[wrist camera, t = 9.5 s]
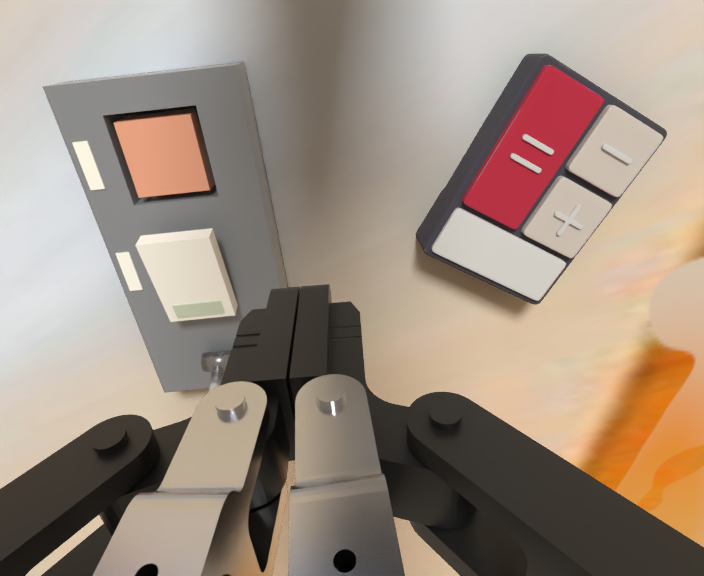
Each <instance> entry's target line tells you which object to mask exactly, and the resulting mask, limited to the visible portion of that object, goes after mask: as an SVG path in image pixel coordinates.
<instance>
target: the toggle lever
mask: <svg viewBox="0 0 704 576" xmlns="http://www.w3.org/2000/svg"><path fill="white" fill-rule="evenodd" d="M230 353H231V350H226V351H216V352H206V353H203V354H202V357H201V365H202V369H203V371H204V372H212V373H211V380H210V386H209V392H210V391H212V390H213V389H215V388H217V387H219V386H220V384H221V381H222V378H223V371H224V370H225V368H226V365H227V362H228V359H229V356H230Z"/></svg>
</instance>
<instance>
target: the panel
mask: <svg viewBox="0 0 704 576" xmlns="http://www.w3.org/2000/svg"><path fill="white" fill-rule="evenodd" d="M43 89H44V91H45V94H46V96H47V99H48V101H49V104H50V106H51V109H52V111H53V114H54V116H55V119H56V121H57V124H58V126H59V129H60V131H61V134H62V136H63V139H64V141H65V144H66V146H67V149H68V151H69V154H70V156H71V159H72V161H73V164H74V166H75V169H76V171H77V174H78V176H79V179H80V182H81V184H82V187H83V189H84V192H85V194H86V197H87V199H88V202H89V204H90V207H91V209H92V212H93V214H94V217H95V219H96V222H97V224H98V227H99V229H100V232H101V234H102V237H103V239H104V242H105V244H106V247H107V249H108V252H109V254H110V257H111V259H112V262H113V264H114V267H115V269H116V272H117V275H118V277H119V280H120V282H121V285H122V287H123V290H124V292H125V295H126V297H127V300H128V302H129V305H130V307H131V310H132V312H133V315H134V317H135V320H136V322H137V325H138V327H139V330H140V332H141V335H142V337H143V340H144V342H145V345H146V347H147V350H148V352H149V355H150V357H151V360H152V362H153V365H154V368H155V370H156V373H157V375H158V378H159V380H160V383H161V385H162V388H163V390H164V392H175V391H185V390H195V389H205V388H209V386H210V380H211V373H212V372H204V371H203V369H202V365H201V357H202V354H203V353H206V352H216V351H226V350H231V349H233V343H234V340H235V338H236V334H237V330H238V327H239V324H240V321H241V320H242V319H243V318H244V317H245V316H246V315H247V314H248V313H249V312H250V311H251V310H253V309H265V308H266V307H267V303H268V299H269V294H270V291H271V289H278V288H288V286H287V280H286V275H285V270H284V265H283V260H282V255H281V249H280V244H279V239H278V234H277V229H276V224H275V218H274V213H273V208H272V203H271V198H270V193H269V187H268V182H267V177H266V172H265V167H264V162H263V156H262V151H261V146H260V141H259V136H258V131H257V125H256V120H255V115H254V110H253V105H252V100H251V94H250V89H249V84H248V79H247V74H246V69H245V63H244V62H238V63H229V64H220V65H211V66H202V67H193V68H185V69H176V70H167V71H158V72H149V73H140V74H132V75H123V76H114V77H105V78H96V79H87V80H78V81H70V82H64V83H59V84H54V85H49V86H45V87H43ZM194 105H196V108H197V112H198V116H199V120H200V124H201V128H202V132H203V136H204V140H205V144H206V148H207V152H208V156H209V160H210V164H211V168H212V172H213V176H214V180H215V184H216V185H214V186H213V187H212V188H211V189H210V190H207V191H198V192H188V193H179V194H170V195H160V196H151V197H142V198H139V197H138V194H137V191H136V188H135V185H134V182H133V179H132V176H131V173H130V170H129V168H128V165H127V162H126V159H125V156H124V153H123V150H122V147H121V144H120V141H119V138H118V135H117V132H116V129H115V126H114V122H116V121H119V120H121V119H123V118H125V117H124V114H123V113H131V112H140V111H149V110H158V109H167V108H176V107H185V106H194ZM209 228H213V231H214V234H215V237H216V240H217V243H218V246H219V249H220V252H221V255H222V259H223V262H224V265H225V268H226V271H227V274H228V277H229V280H230V283H231V286H232V289H233V292H234V295H235V298H236V301H237V305H238V306H237V311H236V315H235V316H225V317H215V318H205V319H195V320H185V321H175V322H170V320H169V318H168V315H167V313H166V311H165V309H164V307H163V305H162V302H161V300H160V298H159V296H158V294H157V291H156V289H155V287H154V285H153V283H152V281H151V278H150V276H149V274H148V272H147V270H146V268H145V265H144V263H143V261H142V259H141V257H140V255H139V252H138V250H137V248H136V246H135V245H136V243H137V241H138V240H139V238H140V236H143V235H152V234H162V233H171V232H181V231H190V230H200V229H209ZM224 372H225V370H224V371H223V375H224Z"/></svg>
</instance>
